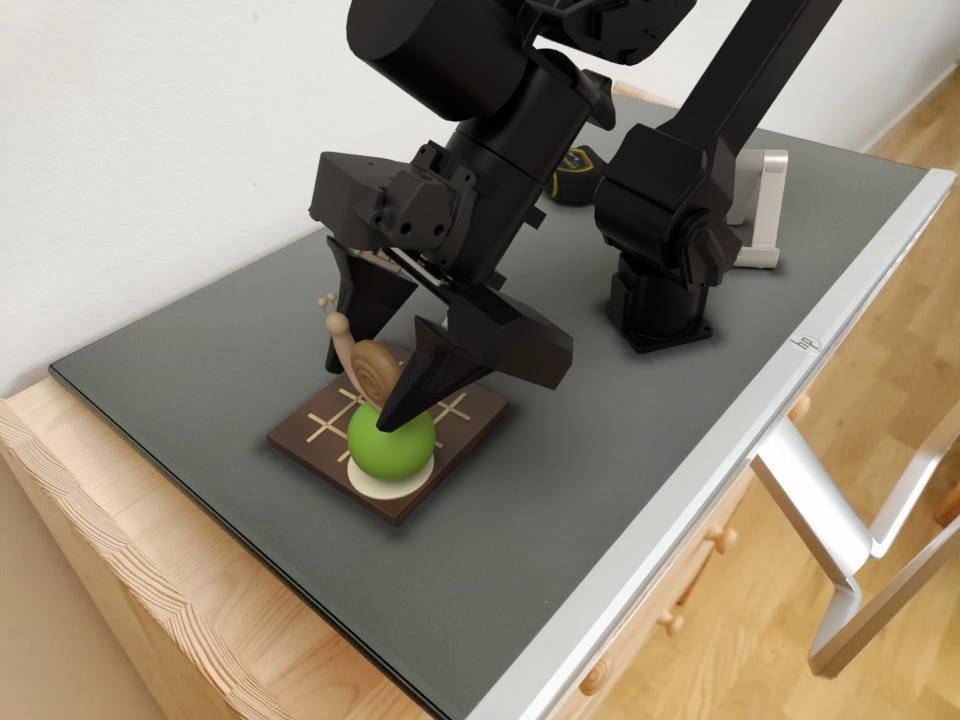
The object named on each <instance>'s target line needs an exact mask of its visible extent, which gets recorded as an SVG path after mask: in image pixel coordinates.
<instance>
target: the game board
mask: <svg viewBox="0 0 960 720" xmlns="http://www.w3.org/2000/svg"><path fill="white" fill-rule="evenodd" d="M379 344H380V345H382V346H383V347H385V348H386V349H387V350H388V351H389V352H390V353H391V354H392V355H393V357H394V358H395V359H396V361H397V362H398V364H399V365H400V367H401V369H402V371H403V370H404V369H405V367H406V365H407V363H408V362H409V360H410V358H411V356H412V354H413V352H410V351H408V350H406V349H403V348H401V347H400V346H398V345H395V344H393V343H391V342H390V341H387V340H386V339H383V340H382V342H380V343H379ZM366 401H367V400H366V399H365V398H364V397H363V396H362V395H361V394H360V393H359V392H358V391H357V390H356V388H355V387H354V386H353V384H352V382H351V380H350V378H349V377H348V375H347V373H346V371H344V372H343V373H342V374H340V375H338V377H336V378H335V379H334V380H332V381H331V382H330V383H328V385H326V386H324V387H323V388H322V389H321V390H320V391H318V392H317V393H316V394H314V395H313V396H312V397H311V398H310V399H308V400H307V401H306V402H305V403H303V404H302V405H301V406H300V407H298V408H297V409H296V410H295V411H293V412H292V413H290V414H289V415H288V416H287V417H286V418H284V419H283V420H282V421H281V422H279V423H278V424H277V425H276V426H275V427H273V428H272V429H270V430H269V431H268V432H266V434H265V437H266V439H267V442H268V444H269V445H271V446H272V447H274V448H275V449H276V450H278V451H280V452H281V453H283V454H284V455H286V456H287V457H289V458H290V459H292V460H293V461H295V462H297V463H298V464H300V465H301V466H302V467H304V468H306V469H307V470H308V471H310V472H312V473H313V474H314V475H316V476H318V477H319V478H321V479H322V480H324V481H325V482H327V483H328V484H330V485H331V486H332V487H334V488H336V489H337V490H339V491H341V492H342V493H344V494H345V495H346V496H348V497H349V498H351V499H353V500H354V501H356V502H357V503H359V504H360V505H362V506H363V507H365V508H366V509H368V510H369V511H371V512H373V513H374V514H375V515H377V516H379V518H381V519H383V520H385V521H386V522H388V523H389V524H390V525H392V526H394V527H398V526H399V525H400V524H401V523H402V522H403V521H404V520H405V519H406V518H407V517H408V516H409V514H411V513H412V512H413V511H414V509H415V508H416V507H417V506H419V504H420V503H421V502H422V501H423V500H424V499H425V498H426V497H427V496H428V495H429V494H430V493H431V492H432V491H433V490H434V489H435V488H436V487H437V486H438V485H439V484H440V483H441V482H442V481H443V479H444V478H446V476H447V475H449V474H450V473H451V471H452V470H453V469H454V468H455V467H456V466H457V465H458V464H459V463H460V462H461V461H463V459H464V458H465V457H466V456H467V455H468V454H469V453H470V452H471V451H472V450H473V448H475V447H476V445H477V444H478V443H480V441H481V440H483V438H484V437H486V435H487V434H488V433H489V432H490V431H491V430H492V429H493V428H494V427H495V426H496V425H497V424H498V423H499V422H500V421H501V420H502V419H503V418H504V417H505V416H506V415H507V413H509V412H510V401H509V400H507V399H505V398H504V397H502V396H499V395H498V394H495V393H493V392H491V391H489V390H487V389H485V388H483V387H481V386H479V385H477V384H475V383H474V382H473V383H471V384H469V385H467V386H465V387H463V388H461V389H460V390H458V391H456V392H454V393H453V394H451V395H449V396H448V397H446V398H444V399H443V400H442V401H440V402H438V403H437V404H435V405H434V406H432V407H431V408H429V409H428V410H427V411H428V412H429V414H430V416H431V418H432V420H433V423H434V426H435V432H436V441H435V447H434V451H433V456H434V466H433V470H432V473H431V475H430V476H429V478H428V480H427V481H426V482H425V483H424V484H423V485H422V486H421V487H420V488H418V489H417V490H416V491H414V492H412V493H410V494H408V495H406V496H403V497H400V498H396V499H388V500H381V499H374V498H370V497H368V496H365V495H363V494H361V493H360V492H359V491H357V490H356V489H355V488H354V487H353V485H352V484H351V482H350V480H349V476H348V463H349V460H350V457H351V455H350V452H349V449H348V444H347V432H348V427H349V423H350V421H351V419H352V417H353V415H354V413H355V412H356V410H357V409H358V408H359V407H360V406H361V405H362V404H363V403H364V402H366Z"/></svg>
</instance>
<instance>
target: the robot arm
mask: <svg viewBox="0 0 960 720" xmlns="http://www.w3.org/2000/svg"><path fill="white" fill-rule="evenodd" d="M843 2H844V0H749V2H748V4H747V6H746V7H745V9H744V10H743V12H742V13H741V15H740V16H739V18H738V19H737V21H736V22H735V24H734V26H733V27H732V28H731V30H730V32H729V33H728V34H727V36H726V38H725V39H724V41H723V42H722V44H721V45H720V47H719V49H718V50H717V51H716V52H715V54H714V56H713V57H712V59H711V61H710V62H709V64H708V65H707V67H706V68H705V70H704V72H703V73H702V74H701V76H700V77H699V79H698V80H697V82H696V84H695V85H694V86H693V88H692V90H691V91H690V92H689V94H688V96H687V97H686V98H685V100H684V102H683V103H682V105H681V106H680V108H679V109H678V111H677V112H676V114H675V115H674V116H672V118H670V119H668V120H666V121H664V122H662V123H661V124H659V125H658V126H656V127H654V128H653V127H651V126H648V125H646V124H643V123H641V122H637V123H636V124H634V125H633V126H632V127H631V128H630V129H628V130H627V132H626V133H625V135H624V138H623V139H622V141H621V143H620V146H619V147H618V149H617V151H616V152H615V154H614V155H613V157H612V158H611V159H610V160H609V162H607V163H608V164H607V165H606V166H605V167H604V168H603V169H602V170H601V171H600V174H601V175H603V176H604V177H603V178H602V179H601V181H600V183H599V185H598V187H597V189H596V191H595V193H594V196H593V199H592V200H591V202H592V205H593V208H594V210H593V211H594V212H593V213H594V214H593V219H594V224H595V227H596V229H598V231H599V232H600V233H601V235H602V239H603V241H604V244H605V245H608V246H609V247H613V248H614V249H616V250H618V251H620V252H619V254H618V263H617V264H618V265H617V271H615V272H613V273H612V275H611V281H610V291H609V292H610V293H609V299H607V300H605V304H604V305H605V309H606V311H607V312H608V316H609V318H610V319H611V320H612V322H613V323H614V325H615V326H616V328H617V329H618V331H619V332H620V333H621V334H622V335H624V337H625V339H626V340H627V341H628V343H629V344H630V346H631V347H632V348H633V350H634V351H635V352H636V353H639V354H640V353H641V354H642V353H643V354H644V353H647V352H651V351H656V350H661V349H664V348H668V347H673V346H677V345H681V344H685V343H689V342H694V341H698V340H703V339H706V338H710V337H712V336H713V334H714V330H715V329H714V327H713V326H712V325H711V324H710V322H709V321H708V320H707V319H706V317H705V311H706V305H707V302H708V301H707V300H708V295H709V291H710V288H717V287H719V286H720V285H722V284H723V280H724V279H723V278H724V275H725V274H726V273H727V272H729V271H731V270H732V269H733V267H734V266H733V265H734V263H735V261H736V260H737V256H738V254H739V252H740V250H741V247H743V245H744V244H743V243H744V242H743V240H742V239H741V238H740V237H739V236H738V235H737V234H736V233H735V232H734V231H733V230H732V229H731V228H730V227H729V225H728V224H727V223H725V221H724V220H725V219H726V218H727V217H726V215H727V213H728V212H729V210H730V208H731V206H732V204H733V200H734V183H735V167H736V158H737V156H738V154H739V153H740V151H741V149H744V146H745V145H746V144H747V141H749V139H750V138H751V137H752V135H753V133H754V132H755V131H756V129H757V128H758V126H759V125H760V123H761V121H763V119H764V117H765V116H766V115H767V113H768V111H769V110H770V108H771V107H772V106H773V104H774V102H775V101H776V100H777V98H778V96H779V95H780V93H781V92H782V91H783V89H784V88H785V86H786V85H787V83H788V82H789V80H790V79H791V77H792V76H793V74H795V72H796V70H797V69H798V67H799V66H800V64H801V62H802V61H803V60H804V58H805V57H806V55H807V54H808V52H809V51H810V49H811V48H812V47H813V45H814V44H815V42H816V40H817V39H818V38H819V36H820V35H821V33H822V32H823V30H824V29H825V27H826V26H827V24H828V23H829V22H830V21H831V19H832V17H833V16H834V14H835V13H836V12H837V10H838V8H839V7H840V6H841V4H842V3H843ZM697 3H698V0H351V1H350V5H349V9H348V12H347V17H346V24H345V35H346V37H345V38H346V41H347V44H348V45H347V46H348V47H349V50H350V51H351V52H352V54H353V55H354V56H355V57H356V58H357V59H359V60H360V61H362V62H363V63H365V65H367V66H369V68H371V69H373V70H374V71H375V72H377V73H378V74H380V75H381V76H383V77H384V78H385V79H387V80H388V81H389V82H391V83H392V84H393V85H395V86H396V87H398V89H400V90H402V92H404V93H406V94H407V95H409V96H410V97H411V98H413V99H414V100H415V101H417V102H418V103H419V104H421V105H423V107H425V108H427V109H428V110H429V111H430V112H432V113H433V114H434V115H436V116H437V117H438V118H440V119H442V120H444V121H445V122H453V123H458V124H457V125H456V127H455V129H454V131H453V132H452V133H451V135H450V137H449V139H448V141H447V142H446V144H445V146H443V145H441V144H439V143H437V142H436V141H433V140H432V139H428V141H427V143H424V144H421V145H420V147H419V148H418V150H417V151H416V153H415V155H414V157H413V159H412V160H411V161H410V162H404V161H399V160H394V159H391V158H384V157H379V156H370V155H362V154H356V153H355V154H354V153H346V152H345V153H344V152H339V151H330V150H327V151H326V150H325V151H321V153H320V155H319V160H318V163H317V164H318V166H317V170H316V174H315V175H316V176H315V179H314V180H315V181H314V186H313V192H312V197H311V202H310V206H309V208H308V209H307V211H308V212H309V214H308V215H309V217H310V218H311V219H312V221H314V222H320V223H321V225H324V226H325V228H327V229H328V230H329V231H331V232H332V234H333V236H332V235H328V234H327V235H326V237H325V242H326V245H327V247H329V249H330V250H331V252H332V255H333V257H334V260H335V264H336V266H337V269H338V271H339V275H340V280H339V281H340V282H339V288H338V289H339V290H338V295H337V302H336V307H335V308H336V311H337V312H339V313H342V314H343V315H345V316H346V317H347V319H348V321H349V326H350V327H349V330H350V333H351V335H352V337H353V339H354V341H355V343H357V342H360V341H362V340H372V341H374V339H375V338H376V337H377V336H378V335H379V333H380V332H382V330H383V329H384V328H385V327H386V326H387V324H388V323H389V322H390V320H392V318H394V316H395V315H396V313H398V311H400V309H401V308H402V306H403V305H404V304H405V303H406V302H407V300H409V298H410V297H411V296H412V295H413V294H414V292H415V291H416V290H417V289H418V287H419V285H422V287H424V288H425V289H426V290H428V291H429V293H431V294H433V295H434V296H435V297H436V298H437V299H439V300H440V301H441V303H443V304H445V306H447V307H448V309H447V311H446V316H445V318H444V320H443V321H442V323H441V324H440V323H439V322H436V321H433V320H431V319H427V318H425V317H424V316H423V317H422V316H420V315H418V314H415V315H414V317H413V323H414V333H415V342H416V344H415V345H416V346H415V349H414V351H413V352H412V356H411V358H410V360H409V362H408V363H407V365H406V367H405V369H404V370H403V372H402V374H401V376H400V378H399V379H398V381H397V383H396V385H395V386H394V388H393V390H392V392H391V393H390V395H389V397H388V399H387V401H386V402H385V404H384V406H383V409H382V411H381V413H380V416H379V418H378V420H377V423H376V428H377V429H378V430H379V431H381V432H387V433H391V432H394V431H395V430H397V429H398V428H400V427H401V426H403V425H404V424H406V423H408V422H409V421H411V420H412V419H414V418H415V417H417V416H418V415H420V414H421V413H423V412H425V411H426V410H428V409H429V408H431V407H432V406H434V405H435V404H437V403H438V402H440V401H442V400H443V399H444V398H446V397H448V396H449V395H451V394H453V393H454V392H456V391H458V390H460V389H461V388H463V387H465V386H467V385H469V384H471V383H473V384H474V383H475V382H477V381H479V380H481V379H483V378H485V377H487V376H490V375H491V374H492V373H495V372H498V373H501V374H504V375H508V376H510V377H514V378H516V379H519V380H522V381H525V382H528V383H531V384H534V385H537V386H540V387H543V388H546V389H549V390H551V391H556V389H558V387H559V385H560V384H561V382H562V381H563V379H564V378H565V376H566V375H567V373H568V371H569V370H570V368H571V367H572V366H573V360H574V340H575V338H574V337H573V336H571V335H570V334H569V333H568V332H566V331H565V330H564V329H562V328H561V327H559V326H558V325H557V324H555V323H554V322H552V321H551V320H550V319H549V318H547V317H546V316H544V315H543V314H542V313H540V312H539V311H537V310H536V309H535V308H533V307H532V306H531V305H528V304H526V303H524V302H523V301H521V300H518V299H516V298H514V297H513V296H510V295H508V294H506V293H504V292H502V291H501V289H502V288H503V286H504V284H505V283H506V281H507V280H508V277H506V276H505V275H504V274H502V273H500V272H499V271H498V270H497V269H496V268H497V267H498V266H499V264H500V262H501V261H502V259H503V258H504V255H505V254H506V252H507V250H508V249H509V248H510V246H511V245H512V242H513V241H514V239H515V238H516V236H517V235H518V234H519V232H520V230H521V228H522V227H523V225H524V223H525V224H527V225H528V226H529V227H531V228H533V229H534V230H536V231H538V230H539V228H540V226H541V225H542V223H543V222H544V221H545V218H546V217H547V213H546V212H544V211H543V210H541V209H540V208H539V207H537V206H536V204H537V202H538V201H539V199H540V197H541V196H542V194H543V193H544V192H545V190H544V188H546V186H547V184H548V183H549V181H550V180H551V178H552V176H553V175H554V173H555V171H556V170H557V168H558V167H559V165H560V163H561V162H562V160H563V159H564V157H565V155H566V154H567V152H568V150H569V149H570V148H572V146H573V144H574V143H575V141H576V139H577V137H578V136H579V134H580V133H581V131H582V129H583V128H584V126H585V124H586V123H588V124H590V125H593V126H595V127H597V128H599V129H602V130H604V131H606V132H612V131H613V130H614V129H615V127H616V125H617V114H616V113H617V112H616V106H615V104H614V101H613V97H612V96H613V95H612V87H613V79H612V78H611V77H610V76H607V75H604V74H602V73H600V72H597V71H594V70H591V69H589V68H583V69H580V68H579V67H578V66H577V65H576V64H575V62H573V61H572V59H571V58H570V57H569V56H568V55H566V54H565V53H564V52H562V51H561V50H558V49H554V48H551V47H550V48H549V47H541V48H536V46H535V45H534V43H535V41H536V39H537V37H538V36H539V37H542V38H543V39H546V40H547V41H551V42H552V43H556V44H559V45H561V46H564V47H567V48H569V49H573V50H575V51H578V52H580V53H584V54H586V55H589V56H592V57H595V58H598V59H601V60H603V61H606V62H609V63H611V64H615V65H620V66H627V67H632V66H636V65H639V64H641V63H642V62H644V61H645V60H646V59H648V58H650V57H651V56H652V55H653V54H654V53H655V52H656V51H657V50H658V49H659V48H660V47H661V45H662V44H664V43H665V41H666V40H667V39H668V37H669V36H671V34H672V33H673V32H674V31H675V30H676V29H677V27H678V26H679V25H680V24H681V23H682V22H683V20H684V19H685V18H686V17H687V16H688V15H689V14H690V12H691V11H692V10H693V9H694V8H695V6H696V5H697ZM403 270H404V271H403ZM408 274H409V275H410V276H411V277H410V276H409V275H408ZM415 280H416V281H415ZM418 283H419V284H418ZM324 369H325V370H326V371H327V372H328V373H329V374H332V375H335V376H340V375H341V374H342V373H344V372H345V369H344V367H343V365H342V363H341V361H340V359H339V357H338V354H337V352H336V349H335V346H334V342H333V338H332V336H331V335H330V337H329V343H328V349H327V354H326V359H325V363H324Z"/></svg>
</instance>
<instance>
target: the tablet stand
mask: <svg viewBox="0 0 960 720" xmlns="http://www.w3.org/2000/svg"><path fill="white" fill-rule="evenodd" d="M788 165H789V151H788V150H787V149H766V148H765V149H764V148H763V149H762V148H760V149H759V148H742V149H741V151H740V153H739V154H738V156H737V158H736V167H735V183H734V200H733V204H732V206H731V208H730V210H729V212H728V213H727V215H726V217H725V218H726V225H728V226H729V225H730V226H731V225H732V226H733V225H734V226H738V225H742V224H743V223H744V220H745V217H746V214H747V212H748V210H749V206H750V204H751V201H752V198H753V195H754V192H755V190H756V187H757V184H758V182H759V189H758V194H757V195H758V196H757V203H756V210H755V216H754V224H753V230H752V239H751V245H750V246H742V247H741V249H740V252H739V254H738V256H737V260H736V261H735V263H734V265H733V267H745V268H757V269H765V268H769V269H775V268H776V267H777V265H778V261H779V255H780V253H781V250H780V248H778V247H776V244H777V238H778V237H777V236H778V231H779V226H780V225H779V224H780V217H781V210H782V204H783V197H784V191H785V185H786V178H787V171H788Z"/></svg>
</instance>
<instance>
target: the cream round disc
mask: <svg viewBox="0 0 960 720" xmlns="http://www.w3.org/2000/svg"><path fill="white" fill-rule="evenodd" d="M433 466H434V456H433V453H432V456H431V458H430V459H429V461H428V462H427V464H426V465H425V466H424V467H423V468H422V469H421V470H420V471H419V472H418V473H416V474H415V475H413V476H411V477H409V478H407V479H404V480H400V481H382V480H378V479H375V478H373V477H371V476H369V475H367V474H366V473H364V472H363V471H362V470H361V469H360V468H359V467H358V466H357V465H356V464H355V462H354V461H353V459H352V457H350V460H349V463H348V476H349V480H350V482H351V484H352V485H353V487H354V488H355V489H356V490H357V491H359V492H360V493H361V494H363V495H365V496H368V497H370V498H374V499H381V500H388V499H396V498H400V497H403V496H406V495H408V494H410V493H412V492H414V491H416V490H417V489H418V488H420V487H421V486H422V485H423V484H424V483H425V482H426V481H427V480H428V478H429V476H430V475H431V473H432V470H433Z"/></svg>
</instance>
